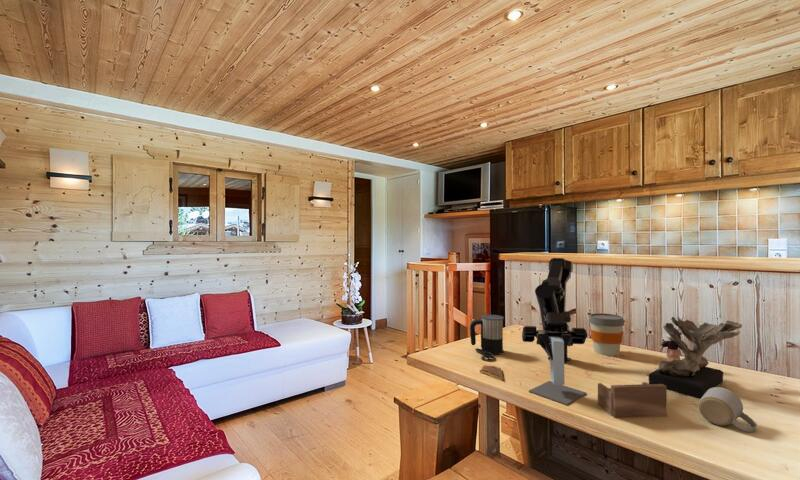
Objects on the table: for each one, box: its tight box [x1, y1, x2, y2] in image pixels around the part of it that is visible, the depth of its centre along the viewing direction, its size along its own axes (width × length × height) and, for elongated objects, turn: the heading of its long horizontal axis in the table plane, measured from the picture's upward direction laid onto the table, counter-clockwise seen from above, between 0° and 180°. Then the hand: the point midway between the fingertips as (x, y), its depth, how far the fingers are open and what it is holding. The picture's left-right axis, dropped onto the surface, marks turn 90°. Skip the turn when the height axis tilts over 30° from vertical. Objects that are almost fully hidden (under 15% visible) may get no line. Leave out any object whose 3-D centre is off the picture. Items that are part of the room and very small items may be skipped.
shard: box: [479, 364, 504, 381], centre depth 127 cm, size 11×8×2 cm
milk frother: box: [469, 314, 505, 360], centre depth 149 cm, size 14×16×15 cm
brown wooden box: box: [597, 381, 668, 419], centre depth 100 cm, size 8×14×8 cm, turn 92°
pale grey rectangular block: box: [549, 337, 565, 386], centre depth 111 cm, size 5×3×13 cm, turn 168°
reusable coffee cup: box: [588, 312, 625, 357], centre depth 150 cm, size 13×13×15 cm
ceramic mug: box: [698, 386, 758, 433], centre depth 92 cm, size 11×8×8 cm
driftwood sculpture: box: [648, 316, 743, 400], centre depth 116 cm, size 25×20×22 cm
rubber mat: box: [528, 380, 587, 406], centre depth 111 cm, size 12×12×1 cm
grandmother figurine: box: [659, 333, 684, 361], centre depth 134 cm, size 8×4×13 cm, turn 65°
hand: (557, 359), depth 110 cm, fingers closed on pale grey rectangular block, 3 cm apart
